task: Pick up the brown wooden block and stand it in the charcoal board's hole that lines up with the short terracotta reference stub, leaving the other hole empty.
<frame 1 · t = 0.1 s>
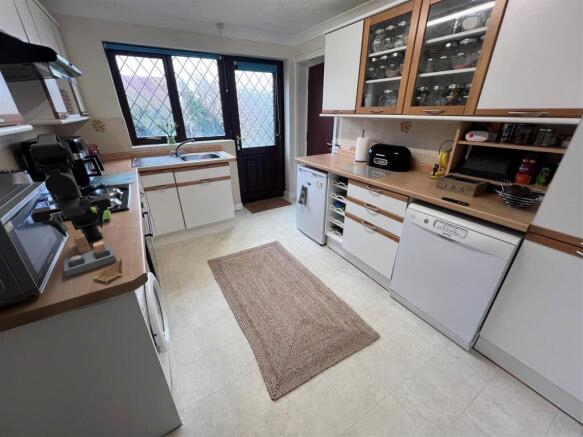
hand: (84, 231, 78), 15 cm above the table, tool pointing down, fingers open, 9 cm apart
brown wooden block: (87, 254, 93), on the table
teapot: (99, 220, 121), on the table
pin board: (92, 262, 87), on the table
shard: (110, 274, 82), on the table
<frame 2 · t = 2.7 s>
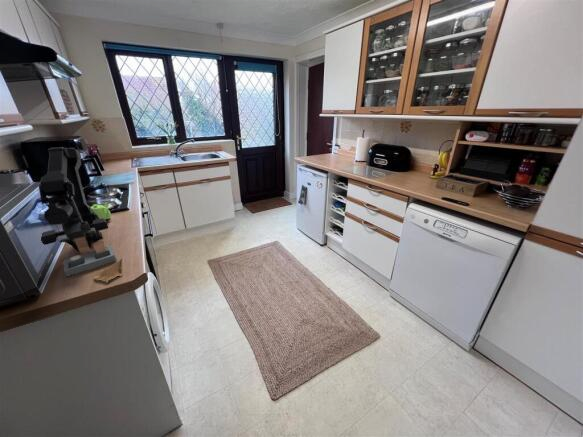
hand: (85, 249, 92), 2 cm above the table, tool pointing down, fingers closed on brown wooden block, 3 cm apart
brown wooden block: (87, 254, 93), on the table, touching gripper
everything else where it was.
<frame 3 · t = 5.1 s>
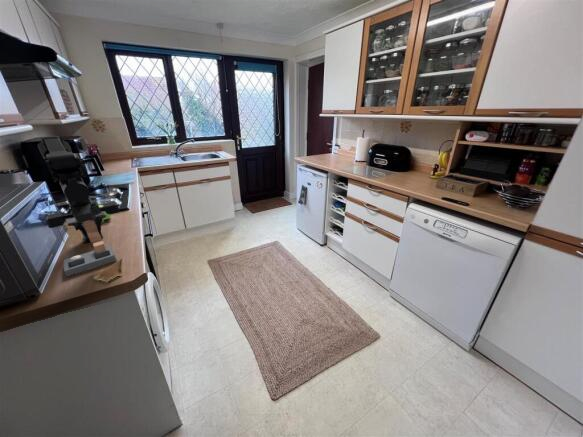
hand: (94, 235, 84), 11 cm above the table, tool pointing down, fingers closed on brown wooden block, 3 cm apart
brown wooden block: (96, 240, 85), point 9 cm above the table, touching gripper
everything else where it was.
when the fingers open (3 cm above the table, at t = 7.3 s): brown wooden block drops 2 cm, resting in pin board.
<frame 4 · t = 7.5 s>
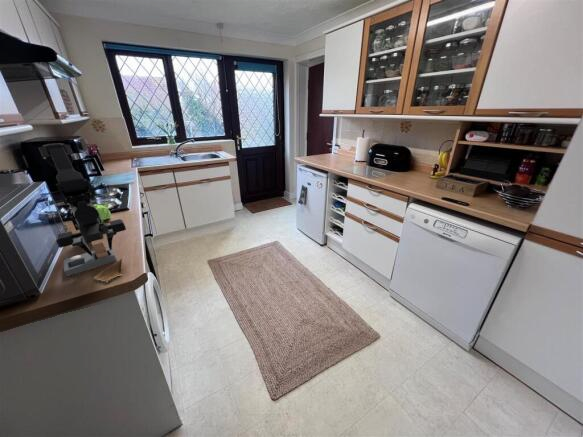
hand: (101, 252, 87), 3 cm above the table, tool pointing down, fingers open, 5 cm apart
brown wooden block: (104, 260, 89), resting in pin board
everything else where it was.
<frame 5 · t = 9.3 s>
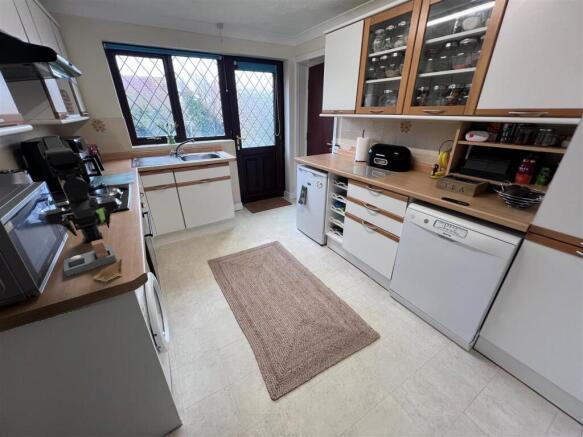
hand: (92, 231, 85), 12 cm above the table, tool pointing down, fingers open, 9 cm apart
nothing on the table moved.
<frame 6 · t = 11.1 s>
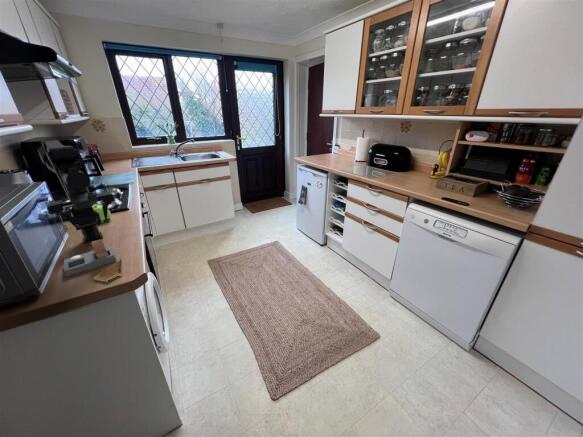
hand: (91, 222, 90), 12 cm above the table, tool pointing down, fingers open, 9 cm apart
nothing on the table moved.
at the end: brown wooden block 0.1 cm from the target spot on the pin board, point 0.0 cm above the pin board's base; brown wooden block tilted 0°; the gripper is holding nothing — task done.
